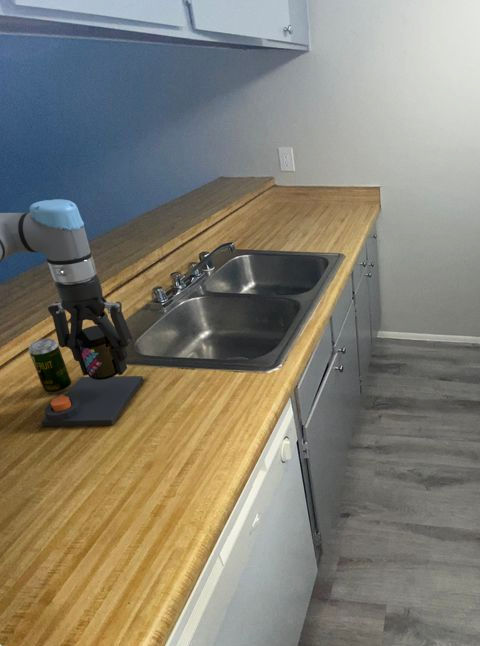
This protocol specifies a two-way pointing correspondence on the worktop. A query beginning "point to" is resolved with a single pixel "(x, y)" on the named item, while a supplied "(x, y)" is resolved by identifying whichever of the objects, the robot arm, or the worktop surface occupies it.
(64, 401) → the button
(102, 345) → the supplement container
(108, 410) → the kitchen scale
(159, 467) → the worktop surface
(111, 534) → the worktop surface
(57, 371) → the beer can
